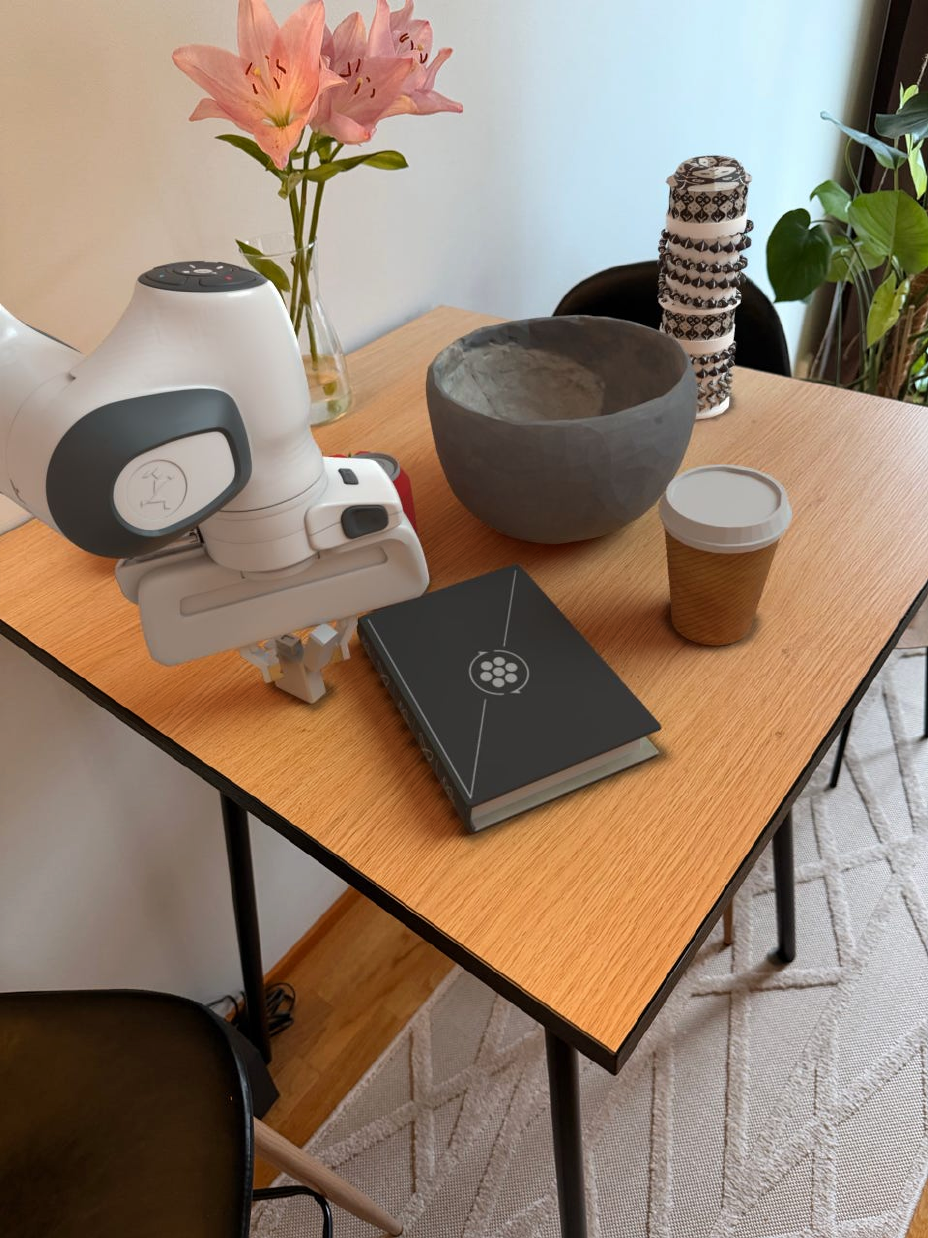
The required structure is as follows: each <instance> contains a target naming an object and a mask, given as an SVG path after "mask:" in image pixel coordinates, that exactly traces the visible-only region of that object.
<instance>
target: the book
mask: <svg viewBox="0 0 928 1238" xmlns="http://www.w3.org/2000/svg"><path fill="white" fill-rule="evenodd" d="M357 621H358V624H357V626H356V634H357V637H358V640H359V642H360V644H361V645H362V647H363V649H364V651H365V652H366V654H367V656H368V658H369V660H370V661H371V663H372V664H373V667H374V668H375V670H376V672H377V674H378V676H379V677H380V679H381V681H382V682H383V685H384V686H385V688H386V690H387V691H388V693H389V695H390V696H391V699H392V700H393V702H394V704H395V705H396V708H397V709H398V711H399V712H400V714H401V716H402V718H403V720H404V721H405V723H406V725H407V727H408V728H409V730H410V732H411V734H412V736H413V737H414V739H415V741H416V742H417V745H418V747H419V748H420V750H421V751H422V754H423V755H424V757H425V759H426V760H427V762H428V764H429V765H430V767H431V769H432V771H433V772H434V774H435V776H436V778H437V780H438V781H439V783H440V785H441V787H442V788H443V790H444V792H445V794H446V795H447V797H448V799H449V800H450V803H451V805H452V806H453V808H454V810H455V812H456V814H457V815H458V817H459V819H460V820H461V822H462V824H463V825H464V828H465V830H467V832H468V833H469V834H470V835H473V834H474V833H478V832H481V831H484V830H485V829H487V828H490V827H492V826H494V825H496V824H500V823H501V822H504V821H506V820H509V819H511V818H513V817H516V816H519V815H520V814H523V813H525V812H528V811H530V810H532V809H534V808H537V807H539V806H541V805H545V804H547V803H549V802H551V801H554V800H556V799H558V798H561V797H563V796H565V795H568V794H570V793H572V792H575V791H578V790H580V789H582V788H584V787H587V786H589V785H592V784H594V783H596V782H598V781H601V780H603V779H605V778H607V777H610V776H613V775H616V774H617V773H620V772H622V771H624V770H627V769H629V768H631V767H634V766H637V765H639V764H641V763H644V762H646V761H648V760H651V759H653V758H655V757H658V756H659V755H660V751H659V750H658V748H656V746H655V745H654V744H653V743H652V742H651V741H650V739H649V738H648V736H649V735H650V736H651V735H652V734H655V733H657V732H660V731H661V730H662V729H663V728H662V724H661V723H660V722H659V720H658V719H656V717H655V716H654V715H653V713H651V712H650V711H649V709H648V708H647V707H646V706H645V705H644V704H643V703H642V701H641V700H640V699H639V698H638V697H637V696H636V694H635V693H634V692H633V691H632V690H631V689H630V688H629V687H628V685H627V684H626V683H625V682H624V681H623V680H622V679H621V678H620V677H619V675H617V673H616V672H615V671H614V670H613V669H612V667H611V666H610V665H609V664H608V662H606V661H605V659H604V658H603V657H602V656H601V655H600V653H598V651H596V650H595V648H594V647H593V646H592V644H591V643H589V641H588V640H587V639H586V637H584V636H583V635H582V634H581V632H580V631H579V630H578V629H577V628H576V627H575V626H574V624H573V623H572V622H571V620H569V619H568V618H567V616H565V613H563V612H562V610H560V609H559V607H558V606H557V605H556V604H555V602H553V600H552V599H551V598H550V597H549V596H548V595H547V593H545V592H544V590H543V589H542V588H541V587H540V586H539V584H538V583H537V582H535V580H534V579H533V578H532V577H531V576H530V574H529V573H528V572H527V571H526V570H525V569H524V567H522V565H521V564H520V563H518V562H516V563H513V564H510V565H506V566H504V567H500V568H497V569H494V570H492V571H489V572H486V573H484V574H480V575H477V576H474V577H471V578H469V579H465V580H463V581H460V582H457V583H453V584H451V585H448V586H445V587H442V588H439V589H436V590H433V591H431V592H427V593H425V594H424V593H423V594H422V595H421V596H420V597H418V598H415V599H411V600H407V601H404V602H400V603H396V604H393V605H389V606H386V607H382V608H379V609H376V610H373V611H371V612H369V613H366V614H363V615H360V616H359V617H357Z"/></svg>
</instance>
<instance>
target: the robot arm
mask: <svg viewBox="0 0 928 1238" xmlns="http://www.w3.org/2000/svg"><path fill="white" fill-rule="evenodd" d="M134 283H135V284H134V288H133V291H132V292H133V293H132V296H131V298H130V301H129V303H128V304H127V307H126V308H125V309H124V312H122V314H121V316H120V317H119V319H118V321H117V322H116V323H115V325H114V326H113V328H112V329H111V330H110V332H109V333H108V334H107V336H106V337H105V338H104V339H103V340H102V341H101V343H99V345H97V347H96V348H95V349H94V350H93V351H91V352H90V354H89V355H86V354H84V353H83V352H81V351H80V350H78V349H77V348H75V347H73V346H72V345H69V344H68V343H66V342H65V341H62V340H61V339H59V338H57V337H55V336H53V335H51V334H49V333H48V332H45V331H43V330H40V329H38V328H36V327H35V326H32V325H29V324H27V323H25V321H22V320H21V319H19V318H18V317H16V316H14V315H13V314H12V313H11V312H10V311H9V310H8V309H6V307H4V306H3V304H2V303H0V494H1V495H3V496H5V497H7V498H8V499H9V500H11V501H12V502H13V503H15V504H16V505H18V506H19V507H20V508H22V509H23V510H25V511H26V512H27V513H29V514H30V515H31V516H33V517H34V518H35V519H37V520H38V521H39V522H42V523H43V524H44V525H45V526H47V527H48V528H50V529H51V530H53V531H54V532H56V533H57V534H59V535H60V536H61V537H63V538H64V539H66V540H67V541H69V542H71V543H72V544H73V545H74V546H76V547H77V548H79V549H81V550H83V551H84V552H87V553H89V554H92V555H94V556H97V557H102V558H106V559H114V560H118V561H117V563H116V565H115V568H114V578H115V579H116V582H117V584H118V587H119V589H120V591H121V594H122V595H123V596H124V598H125V599H126V600H127V601H128V602H130V603H132V604H133V605H136V606H138V611H139V618H140V623H141V629H142V633H143V638H144V641H145V644H146V647H147V651H148V654H149V656H150V659H151V660H152V661H153V662H156V663H158V664H159V665H161V666H163V667H166V668H170V667H176V666H179V665H182V664H186V663H189V662H193V661H196V660H197V661H198V660H199V659H204V658H207V657H210V656H214V655H219V654H221V653H225V652H228V651H232V650H235V649H237V651H238V653H239V657H241V658H242V659H243V660H245V661H247V662H248V663H250V664H251V665H253V666H254V667H255V668H257V669H260V671H261V674H262V678H263V681H264V683H265V684H267V683H268V684H269V683H271V682H275V680H278V679H282V678H284V675H283V672H282V668H281V665H280V661H279V658H278V655H277V651H276V648H275V649H272V650H268V651H265V649H263V648H262V647H261V646H260V645H258V643H260V642H261V643H262V642H264V641H265V642H266V641H268V640H269V639H272V638H275V637H279V636H282V635H286V634H293V633H296V632H300V631H303V630H307V629H310V628H314V627H318V626H319V625H321V624H324V623H328V624H329V623H331V622H335V621H336V623H335V626H334V627H333V629H335V630H336V631H337V632H338V633H339V634H338V637H337V641H336V644H335V647H334V650H333V653H332V656H331V660H330V661H329V662H330V663H331V665H332V664H337V663H339V662H344V661H347V660H351V655H350V650H349V646H348V644H349V643H350V641H351V639H352V637H353V635H354V632H355V631H356V630H357V624H358V621H357V620H358V617H357V615H361V614H364V613H367V612H372V611H376V610H380V609H383V608H386V607H389V606H392V605H395V604H398V603H401V602H404V601H407V600H411V599H415V598H418V597H420V596H421V595H424V593H425V591H426V590H427V588H428V586H429V584H430V574H429V568H428V564H427V561H426V556H425V553H424V550H423V547H422V544H421V542H420V538H419V536H418V537H417V535H416V533H415V531H414V529H413V527H412V525H411V524H410V522H409V520H408V518H407V517H406V515H405V513H404V512H403V508H402V504H401V500H400V498H399V495H398V492H397V490H396V488H395V486H394V484H393V482H392V481H391V479H390V478H389V476H388V475H387V474H386V472H385V471H384V470H383V469H382V467H381V466H380V465H379V464H378V463H377V462H376V461H374V460H370V459H356V458H335V457H328V456H323V454H322V451H321V448H320V447H319V445H318V443H317V441H316V440H315V438H314V435H313V433H312V428H311V414H312V398H311V393H310V388H309V387H310V386H309V382H308V378H307V373H306V368H305V365H304V361H303V356H302V352H301V348H300V345H299V342H298V338H297V335H296V332H295V329H294V326H293V323H292V320H291V317H290V314H289V312H288V309H287V307H286V305H285V303H284V300H283V298H282V296H281V294H280V292H279V291H278V289H277V287H276V286H275V285H274V283H273V282H272V281H271V280H270V279H268V278H267V277H265V275H263V274H261V273H259V272H256V271H255V270H252V269H249V268H246V267H243V266H240V265H236V264H233V263H229V262H223V261H217V262H216V261H206V260H186V261H178V262H169V263H166V264H161V265H157V266H155V267H153V268H152V269H149V270H147V271H145V272H143V273H141V274H140V275H139V276H138V277H137V279H136V281H135V282H134ZM197 526H199V527H198V529H194V528H195V527H197ZM192 529H194V530H192ZM418 538H419V539H418ZM131 558H133V559H132V560H129V559H131Z"/></svg>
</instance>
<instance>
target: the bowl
mask: <svg viewBox="0 0 928 1238" xmlns="http://www.w3.org/2000/svg"><path fill="white" fill-rule="evenodd" d="M425 396H426V405H427V412H428V417H429V421H430V426H431V427H430V428H431V433H432V438H433V442H434V447H435V451H436V455H437V458H438V461H439V464H440V466H441V467H440V468H441V469H442V473H443V474H444V476H445V479H446V482H447V484H448V486H449V488H450V489H451V492H452V493H453V495H454V497H456V499H457V500H458V501H459V503H460V504H461V505H462V506H463V507H464V509H466V511H468V512H469V513H470V514H471V515H472V516H473V517H474V518H475V519H477V520H479V521H480V522H481V523H483V524H484V525H486V526H487V527H489V528H491V529H493V530H494V531H496V532H498V533H499V534H501V535H503V536H506V537H509V538H513V539H516V540H520V541H524V542H531V543H538V544H544V545H545V544H546V545H547V544H548V545H549V544H551V545H553V544H554V545H561V544H566V543H572V542H578V541H579V542H580V541H584V540H589V539H590V540H592V539H595V538H600V537H603V536H607V535H609V534H611V533H614V532H616V531H619V530H621V529H623V528H625V527H627V526H628V525H630V524H632V523H633V522H635V521H636V520H638V519H640V518H641V517H642V516H643V515H645V514H646V513H647V512H648V511H649V510H650V509H651V508H653V507H654V506H655V505H656V504H657V503H658V501H660V499H661V497H662V496H663V494H664V493H665V492H666V489H667V486H668V485H669V483H670V482H671V481H672V479H673V478H675V477H676V475H677V473H678V471H679V470H680V467H681V465H682V464H683V461H684V458H685V456H686V453H687V450H688V447H689V444H690V442H691V438H692V434H693V430H694V426H695V423H696V420H695V418H696V412H697V401H698V388H697V381H696V375H695V370H694V368H693V365H692V363H691V360H690V358H689V356H688V354H687V353H686V351H685V350H684V348H683V347H682V345H681V344H680V343H679V342H678V341H677V340H676V339H675V338H673V337H672V336H670V335H668V334H667V333H664V332H661V331H660V330H659V329H656V328H653V327H650V326H647V325H644V324H640V323H638V322H634V321H630V320H625V319H620V318H615V317H609V316H592V315H588V314H574V315H572V314H571V315H557V316H556V315H555V316H544V317H543V316H541V317H533V318H532V317H531V318H525V319H519V320H512V321H507V322H501V323H497V324H491V325H486V326H481V327H479V328H476V329H474V330H473V331H471V332H469V333H466V334H465V335H463V336H461V337H459V338H457V339H454V341H453V342H452V343H450V344H449V345H447V346H446V347H445V348H443V349H442V350H441V351H439V352H438V353H437V354H436V355H435V357H434V358H433V360H432V361H431V362H430V364H429V365H428V367H427V372H426V379H425Z"/></svg>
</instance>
